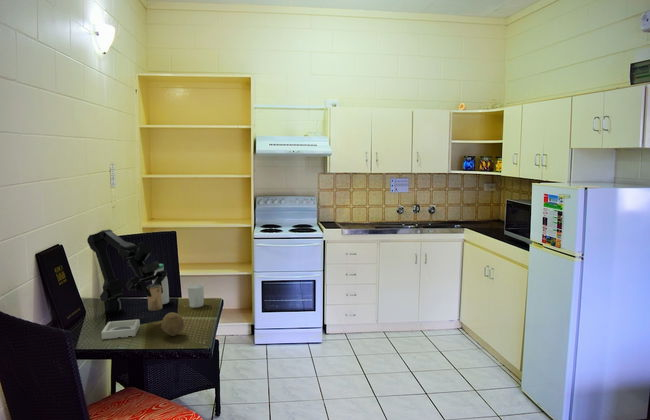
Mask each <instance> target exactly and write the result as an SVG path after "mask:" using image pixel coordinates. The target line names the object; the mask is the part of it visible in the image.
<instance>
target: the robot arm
mask: <svg viewBox="0 0 650 420" xmlns="http://www.w3.org/2000/svg"><path fill="white" fill-rule="evenodd" d="M86 239H87V240H86V241H87V243H88V246H89V248H90V250H92V251H93V252H94V253H95V256H96V258H97V261H98V265H99V268H100V271H101V275H102V278H103V281H104V282H103V284H102V292H101V294H100V296H99V299H100V301H101V302H103V304H104V312H103V313H104V314H105V315H106V314H115V313H119V312H120V310H121V309H122V306H121V305H122V304H121V300H120V298H123V293H124V288H123V287H124V286H123V283H122V280H121V279H118V278H116V276H115V273H114V270H113V267H112V263H111V260H110V257H109V255H108V250H107V248H108V245H109V244H110V245H111V246H112V247H113V248H115V249H116V250H117V251H118V255H119V256H120V257H121V258H122V259H123V260H124V259H128V260H127V263H126V267H131V269H132V271H133V276H135V277H131V278H129V280H128V281H127V283H126V285H125V286H126V289H127V291H132V290H134V291H138V292H139V293H142V294H144V295H145V296H146V297H147V298H148V297H151V294H150V292H149V290H148V289H147V287H148V286H146V283H147V282H150V281H151V282H152V280H153V281H154V284H160V286H161V287H162V283H161V281H163V280H164V278H165V277H166V276H168V273H167V271H166V270H162V271H158V272H157V273H156V274H155V270H158V269H157V268H159V267H160V265H159V264H160V262H158V261H157V260H155V261H153V262H151V263H149V264H148V263H147V264H145V261H146V260H147V259H148V257H149V256H150V255H151V253H152V247H151V246H150V245H148V244H145V243H144V242H139V243H137V244H135V243H133V242H128V241H125V240H124V239H123V238H121V237H120V236H118V235H117V234H116V233H115V232H114V231H113V230H111V229H103V230H100V231H98V232H96V233H94V234H89V235H88V237H87V238H86ZM154 274H155V275H154ZM161 293H163V289H162V288H161Z"/></svg>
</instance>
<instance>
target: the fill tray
mask: <svg viewBox="0 0 650 420" xmlns="http://www.w3.org/2000/svg"><path fill="white" fill-rule="evenodd" d="M140 326H141V322H140V319H127V320H125V319H124V320H115V321H114V320H113V321H108V322H107V323H106V325H105V326H104V328H103V329H102V330H101V340H107V339H119V338H118V337H121V338H129V337H128V336H132V337H136V336H137V333H138V331H139V328H140Z"/></svg>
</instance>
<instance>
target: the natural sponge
mask: <svg viewBox="0 0 650 420" xmlns="http://www.w3.org/2000/svg"><path fill="white" fill-rule="evenodd" d="M160 323H161V324H160V327H161V329H162V330H163V332H165V333H166V334H168V335H169V336H171V337H176V336H177V335H178V334H179V333H180V332H181V331H182V330H183V329H184V327H185V322H184V319H183V317H181V315H180V314H179V313H177V312H168V313H166V314H165V315H164V317H162V320H161V322H160Z"/></svg>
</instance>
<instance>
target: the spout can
mask: <svg viewBox="0 0 650 420" xmlns="http://www.w3.org/2000/svg"><path fill="white" fill-rule="evenodd" d="M146 287H147V289H148V290H149V292H150V294H151V297H148V296H147V308H148V311H154V312H155V311H160V310H162V309H163V304H162V293H161V288H162V287H161V286H160V284H152V283H151V284H148V285H147V286H146Z"/></svg>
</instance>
